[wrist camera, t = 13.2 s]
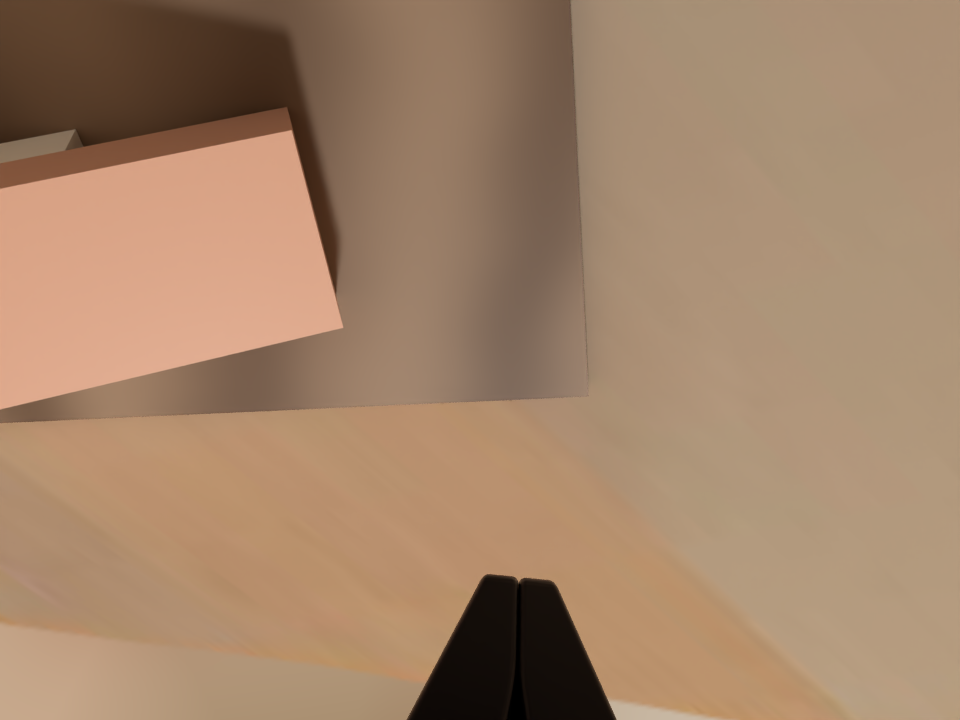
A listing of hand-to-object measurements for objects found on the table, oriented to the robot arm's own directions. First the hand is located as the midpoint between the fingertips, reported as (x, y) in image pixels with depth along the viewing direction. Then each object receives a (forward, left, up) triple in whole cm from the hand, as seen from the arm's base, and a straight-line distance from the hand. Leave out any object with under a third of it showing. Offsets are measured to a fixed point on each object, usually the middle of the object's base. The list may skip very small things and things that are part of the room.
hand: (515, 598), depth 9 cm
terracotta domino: (-1, -5, -10) cm, 11 cm away
